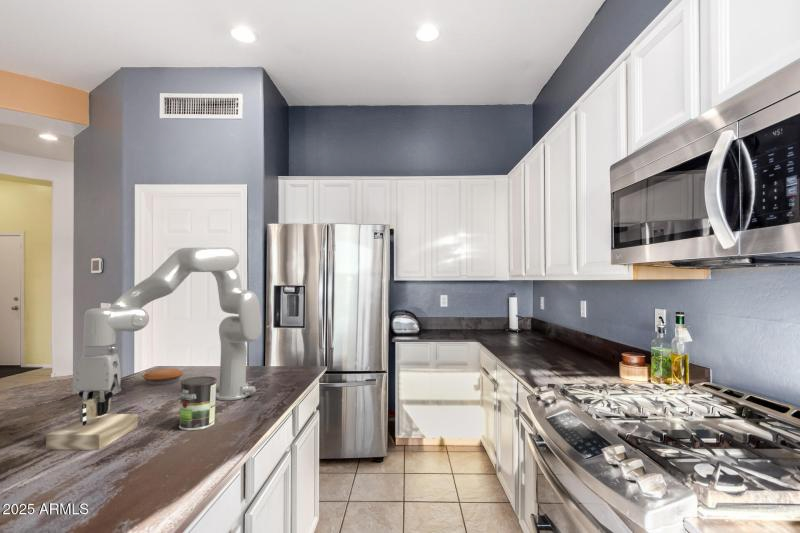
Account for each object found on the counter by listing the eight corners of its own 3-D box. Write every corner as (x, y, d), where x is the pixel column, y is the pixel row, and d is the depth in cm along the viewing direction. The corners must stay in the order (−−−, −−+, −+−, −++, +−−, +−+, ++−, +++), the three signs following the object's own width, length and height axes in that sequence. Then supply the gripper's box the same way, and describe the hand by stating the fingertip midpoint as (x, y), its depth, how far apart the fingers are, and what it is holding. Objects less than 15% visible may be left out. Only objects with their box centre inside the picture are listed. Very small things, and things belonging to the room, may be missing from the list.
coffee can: (195, 433, 118) (197, 386, 118) (171, 427, 121) (173, 382, 122) (222, 421, 127) (224, 378, 128) (199, 416, 131) (200, 374, 131)
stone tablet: (82, 404, 105) (115, 391, 117) (69, 404, 105) (103, 392, 117) (83, 426, 105) (116, 411, 117) (69, 426, 105) (103, 411, 117)
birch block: (137, 427, 121) (137, 414, 121) (98, 449, 105) (99, 434, 105) (91, 426, 120) (92, 413, 121) (45, 449, 104) (46, 434, 105)
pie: (178, 376, 183) (178, 365, 183) (187, 383, 172) (187, 371, 172) (139, 381, 173) (139, 369, 173) (145, 389, 161) (146, 376, 161)
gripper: (136, 349, 117) (133, 410, 117) (80, 348, 117) (77, 409, 116) (118, 353, 110) (115, 419, 109) (59, 352, 110) (56, 418, 109)
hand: (96, 413), depth 113 cm, fingers closed on stone tablet, 3 cm apart
